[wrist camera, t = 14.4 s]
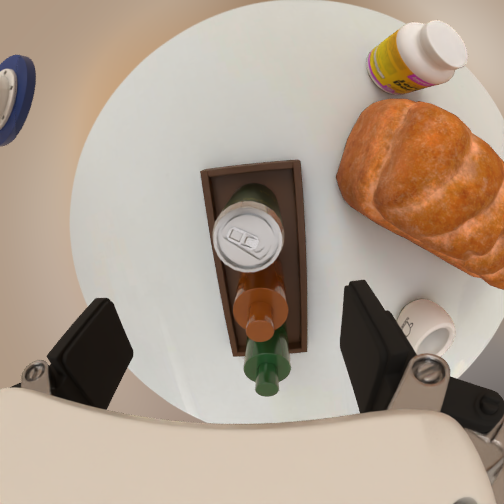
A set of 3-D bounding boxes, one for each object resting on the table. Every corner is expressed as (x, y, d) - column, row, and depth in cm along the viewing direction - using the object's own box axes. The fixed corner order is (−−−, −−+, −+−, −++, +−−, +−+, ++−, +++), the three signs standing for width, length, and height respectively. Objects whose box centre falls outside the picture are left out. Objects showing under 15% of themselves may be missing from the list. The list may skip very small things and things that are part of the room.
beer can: (222, 216, 31) (199, 257, 20) (242, 174, 29) (227, 191, 18) (265, 235, 32) (265, 286, 20) (286, 194, 30) (298, 224, 19)
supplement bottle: (371, 95, 25) (429, 73, 13) (358, 46, 23) (405, 3, 11) (417, 96, 24) (482, 83, 12) (404, 50, 22) (462, 19, 10)
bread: (462, 268, 33) (521, 322, 18) (322, 195, 30) (371, 239, 16) (496, 191, 27) (566, 221, 13) (365, 91, 25) (438, 58, 11)
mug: (410, 284, 34) (435, 314, 27) (443, 299, 35) (467, 327, 27) (367, 346, 38) (382, 381, 31) (402, 355, 39) (419, 386, 32)
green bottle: (250, 338, 37) (245, 404, 26) (246, 308, 35) (238, 375, 24) (287, 335, 37) (292, 402, 26) (285, 305, 35) (292, 372, 24)
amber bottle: (243, 290, 34) (233, 355, 23) (238, 252, 33) (224, 308, 21) (284, 287, 34) (291, 351, 23) (281, 248, 32) (289, 303, 21)
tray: (234, 347, 39) (233, 356, 37) (204, 169, 30) (200, 171, 28) (305, 342, 38) (307, 352, 36) (297, 159, 29) (300, 160, 27)
